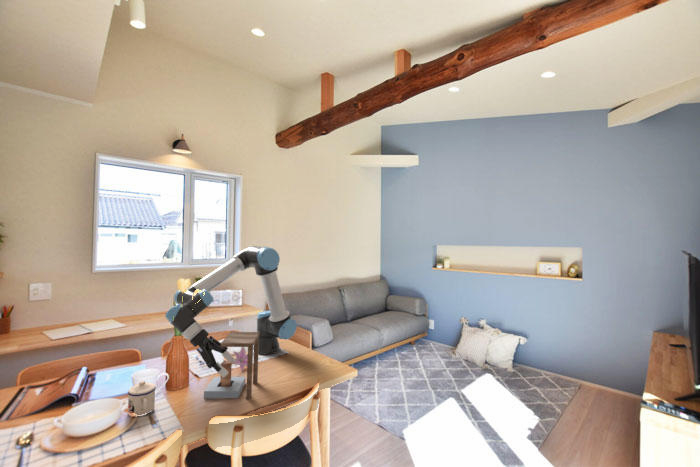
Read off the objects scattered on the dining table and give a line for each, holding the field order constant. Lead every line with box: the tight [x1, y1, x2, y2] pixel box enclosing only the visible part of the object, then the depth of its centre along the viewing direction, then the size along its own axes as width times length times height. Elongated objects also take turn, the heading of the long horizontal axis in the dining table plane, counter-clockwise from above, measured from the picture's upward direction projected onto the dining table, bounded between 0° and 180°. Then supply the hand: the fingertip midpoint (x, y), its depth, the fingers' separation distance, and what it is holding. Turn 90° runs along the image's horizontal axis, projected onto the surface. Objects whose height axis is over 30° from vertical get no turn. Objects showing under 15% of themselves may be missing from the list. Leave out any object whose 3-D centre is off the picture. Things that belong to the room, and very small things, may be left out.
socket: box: [203, 376, 246, 399], centre depth 148 cm, size 14×14×3 cm
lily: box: [232, 347, 248, 372], centre depth 172 cm, size 12×12×10 cm
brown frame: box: [220, 331, 259, 400], centre depth 148 cm, size 16×13×24 cm
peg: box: [220, 360, 233, 387], centre depth 148 cm, size 4×4×12 cm
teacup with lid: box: [127, 380, 156, 415], centre depth 128 cm, size 12×9×12 cm
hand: (230, 368), depth 148 cm, fingers open, 13 cm apart
